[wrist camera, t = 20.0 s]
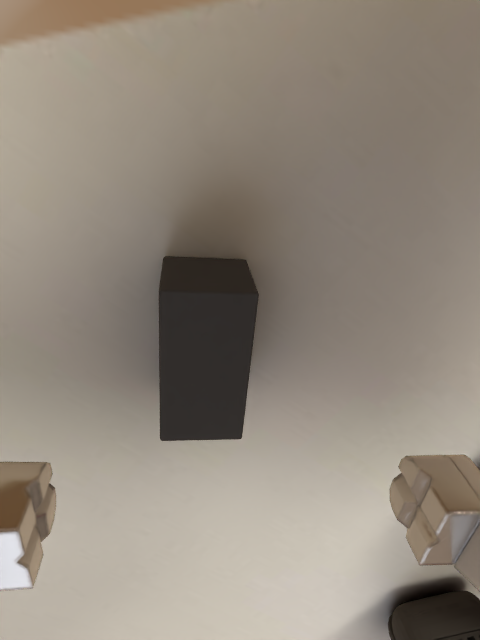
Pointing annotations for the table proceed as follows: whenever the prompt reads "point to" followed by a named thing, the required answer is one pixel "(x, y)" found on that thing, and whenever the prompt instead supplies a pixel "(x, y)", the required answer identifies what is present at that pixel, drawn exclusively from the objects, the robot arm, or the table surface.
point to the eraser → (205, 347)
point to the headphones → (437, 618)
